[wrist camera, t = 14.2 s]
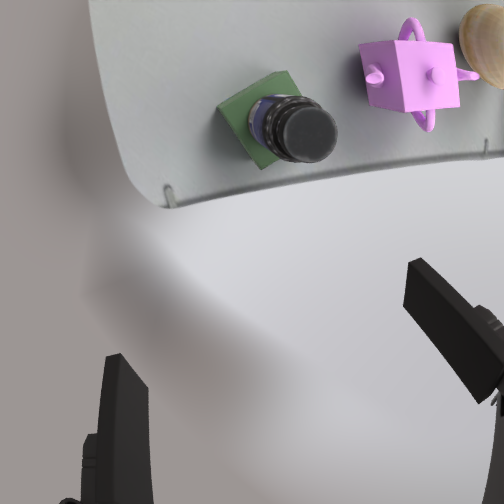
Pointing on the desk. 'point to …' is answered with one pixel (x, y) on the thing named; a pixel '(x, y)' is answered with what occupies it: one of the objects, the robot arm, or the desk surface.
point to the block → (239, 109)
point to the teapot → (412, 74)
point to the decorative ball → (484, 42)
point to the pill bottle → (293, 128)
